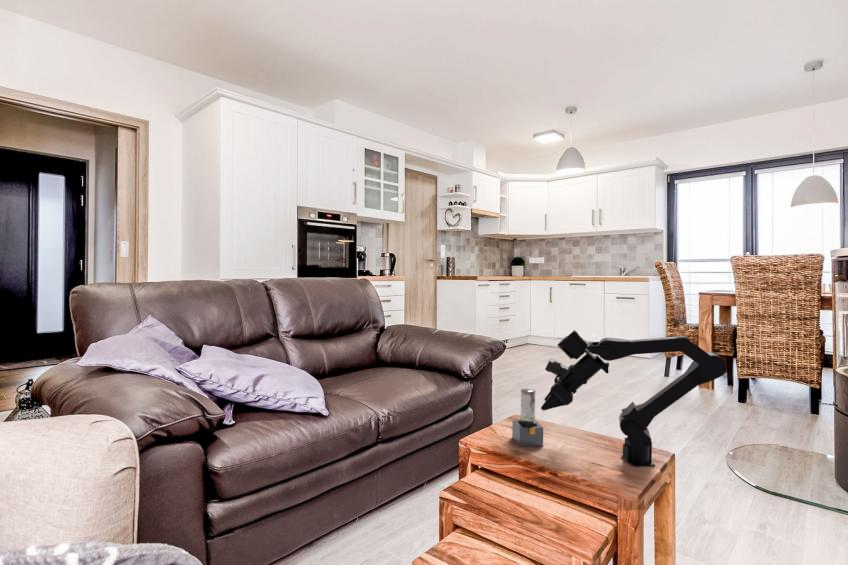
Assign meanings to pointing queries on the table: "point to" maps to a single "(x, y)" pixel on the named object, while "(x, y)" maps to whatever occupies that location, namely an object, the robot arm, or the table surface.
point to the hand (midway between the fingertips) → (543, 404)
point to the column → (527, 408)
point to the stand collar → (527, 434)
